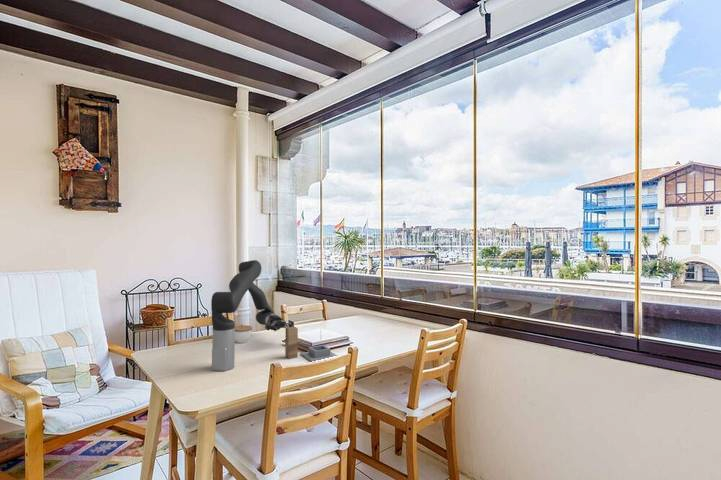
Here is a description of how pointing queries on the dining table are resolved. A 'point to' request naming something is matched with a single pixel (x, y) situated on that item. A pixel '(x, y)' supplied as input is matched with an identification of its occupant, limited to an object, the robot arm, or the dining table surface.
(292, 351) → the walnut block
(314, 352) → the slate stand
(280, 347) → the dining table surface
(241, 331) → the lidded jar
